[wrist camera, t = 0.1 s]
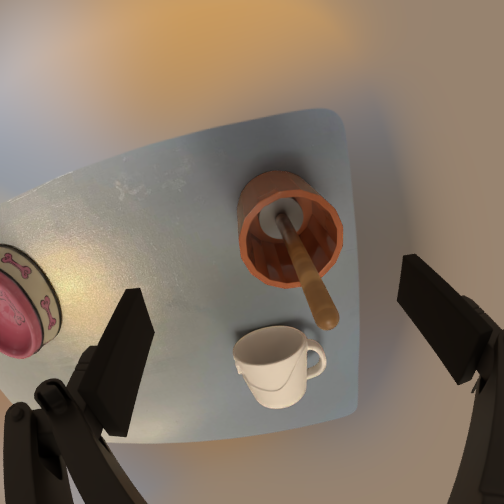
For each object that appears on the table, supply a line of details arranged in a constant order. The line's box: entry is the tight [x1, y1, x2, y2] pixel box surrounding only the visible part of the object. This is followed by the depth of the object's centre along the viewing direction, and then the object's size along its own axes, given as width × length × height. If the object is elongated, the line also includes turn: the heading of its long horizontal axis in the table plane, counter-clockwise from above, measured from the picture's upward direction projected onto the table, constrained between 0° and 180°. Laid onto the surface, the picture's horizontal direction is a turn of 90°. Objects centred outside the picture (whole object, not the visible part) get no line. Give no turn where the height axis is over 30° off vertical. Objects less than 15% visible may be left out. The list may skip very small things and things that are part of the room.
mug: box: [233, 326, 326, 409], centre depth 41 cm, size 12×9×8 cm
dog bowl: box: [0, 245, 62, 359], centre depth 36 cm, size 18×19×7 cm
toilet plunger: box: [257, 197, 339, 330], centre depth 26 cm, size 5×5×21 cm
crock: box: [237, 171, 343, 289], centre depth 31 cm, size 9×9×10 cm
